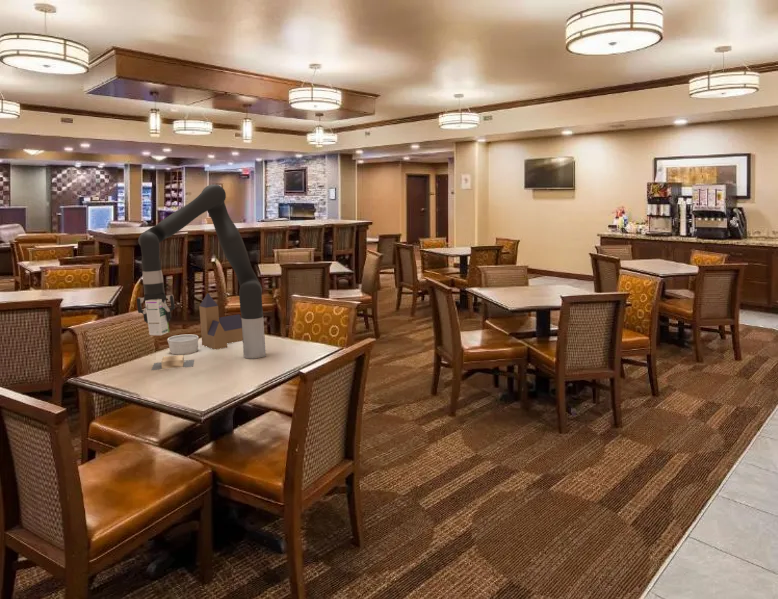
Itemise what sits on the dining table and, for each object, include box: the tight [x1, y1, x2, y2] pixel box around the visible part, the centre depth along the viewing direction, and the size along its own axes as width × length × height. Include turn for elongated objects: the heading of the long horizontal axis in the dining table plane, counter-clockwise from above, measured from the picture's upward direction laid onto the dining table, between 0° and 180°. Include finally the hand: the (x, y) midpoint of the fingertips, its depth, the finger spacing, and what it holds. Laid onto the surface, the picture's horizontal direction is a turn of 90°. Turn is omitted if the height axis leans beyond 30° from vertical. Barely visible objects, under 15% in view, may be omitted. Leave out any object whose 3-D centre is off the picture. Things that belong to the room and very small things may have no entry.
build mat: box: [151, 359, 195, 371], centre depth 244 cm, size 16×11×1 cm
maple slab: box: [161, 354, 185, 370], centre depth 243 cm, size 8×8×3 cm
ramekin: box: [167, 333, 200, 356], centre depth 266 cm, size 13×13×7 cm
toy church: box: [198, 292, 243, 350], centre depth 279 cm, size 12×19×25 cm, turn 133°
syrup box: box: [144, 299, 170, 336], centre depth 240 cm, size 6×6×14 cm
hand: (158, 321), depth 241 cm, fingers closed on syrup box, 7 cm apart
